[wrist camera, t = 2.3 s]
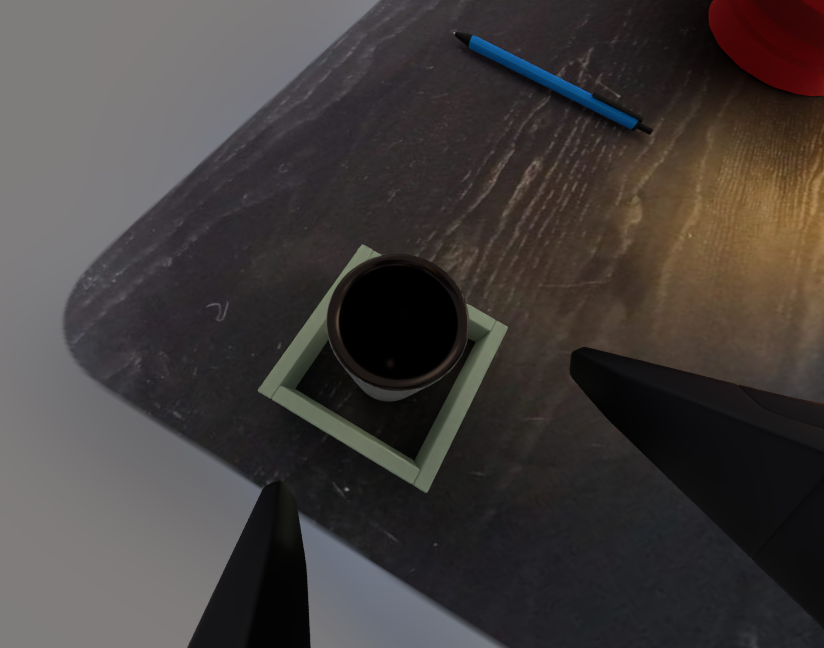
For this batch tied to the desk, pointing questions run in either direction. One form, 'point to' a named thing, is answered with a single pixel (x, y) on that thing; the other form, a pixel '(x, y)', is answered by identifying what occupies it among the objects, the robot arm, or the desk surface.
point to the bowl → (774, 40)
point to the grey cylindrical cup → (397, 325)
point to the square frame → (414, 472)
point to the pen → (557, 84)
